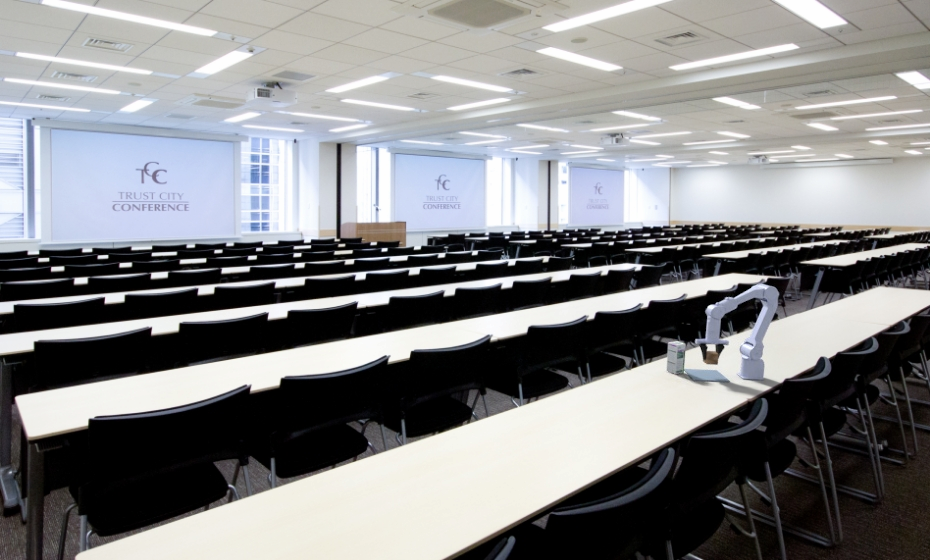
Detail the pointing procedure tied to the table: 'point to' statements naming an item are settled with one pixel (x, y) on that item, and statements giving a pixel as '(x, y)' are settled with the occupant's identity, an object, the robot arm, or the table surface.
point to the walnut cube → (711, 358)
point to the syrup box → (676, 357)
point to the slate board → (706, 375)
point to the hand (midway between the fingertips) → (710, 359)
